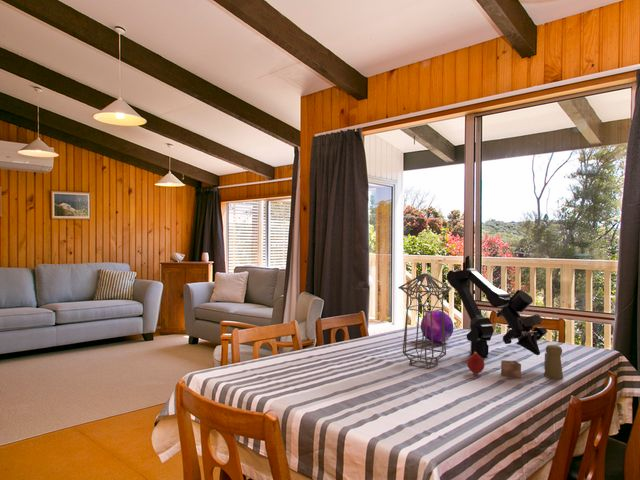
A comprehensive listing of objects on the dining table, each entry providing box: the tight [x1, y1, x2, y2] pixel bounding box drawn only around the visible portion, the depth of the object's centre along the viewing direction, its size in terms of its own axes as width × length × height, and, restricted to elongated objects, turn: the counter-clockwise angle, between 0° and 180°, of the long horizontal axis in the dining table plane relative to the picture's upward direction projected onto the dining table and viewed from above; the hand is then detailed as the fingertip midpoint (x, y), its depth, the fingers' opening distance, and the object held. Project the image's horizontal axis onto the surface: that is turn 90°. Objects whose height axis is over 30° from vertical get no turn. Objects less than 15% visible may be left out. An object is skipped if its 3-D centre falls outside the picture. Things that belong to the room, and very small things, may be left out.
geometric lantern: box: [398, 272, 453, 370], centre depth 177 cm, size 16×16×35 cm
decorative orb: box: [420, 310, 454, 344], centre depth 220 cm, size 15×15×15 cm
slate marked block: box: [544, 350, 547, 367], centre depth 181 cm, size 5×5×5 cm
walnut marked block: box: [500, 359, 522, 380], centre depth 164 cm, size 5×5×5 cm
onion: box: [466, 352, 485, 375], centre depth 166 cm, size 6×6×8 cm
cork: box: [543, 344, 564, 380], centre depth 165 cm, size 6×6×11 cm
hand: (538, 354), depth 170 cm, fingers closed
